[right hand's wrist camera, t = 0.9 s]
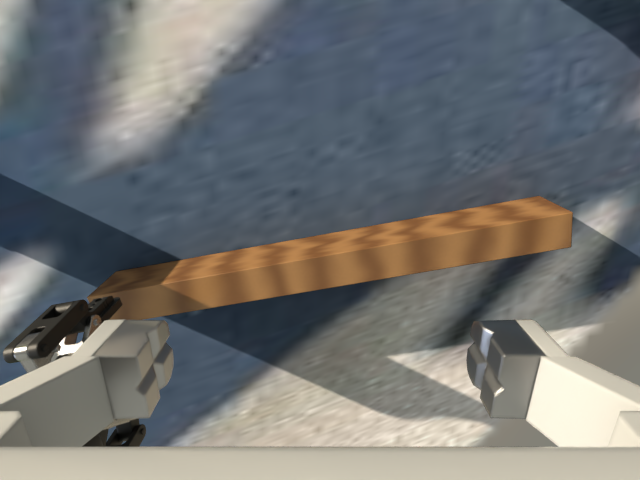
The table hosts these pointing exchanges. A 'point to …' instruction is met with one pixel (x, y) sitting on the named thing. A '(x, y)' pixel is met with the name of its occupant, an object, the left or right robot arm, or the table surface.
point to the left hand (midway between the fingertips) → (128, 339)
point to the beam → (340, 258)
